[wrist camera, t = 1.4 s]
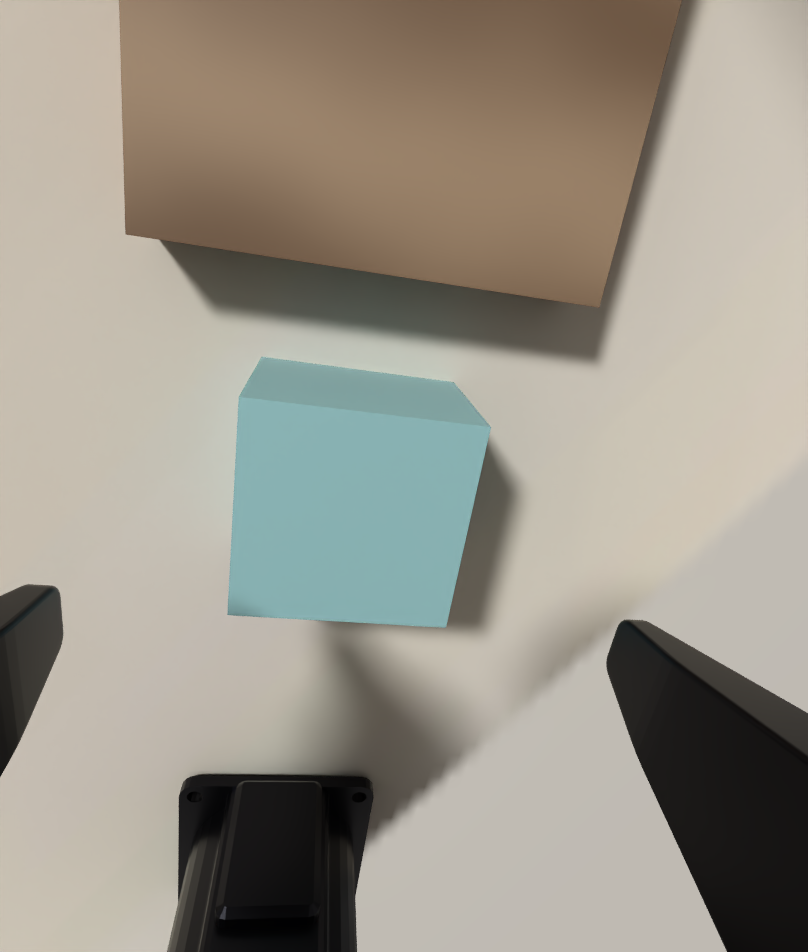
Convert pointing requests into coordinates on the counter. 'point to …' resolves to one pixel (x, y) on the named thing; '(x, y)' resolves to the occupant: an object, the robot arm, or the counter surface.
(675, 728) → the robot arm
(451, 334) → the counter surface
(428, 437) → the teal block
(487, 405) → the counter surface
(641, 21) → the walnut base
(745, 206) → the counter surface
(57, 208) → the counter surface
